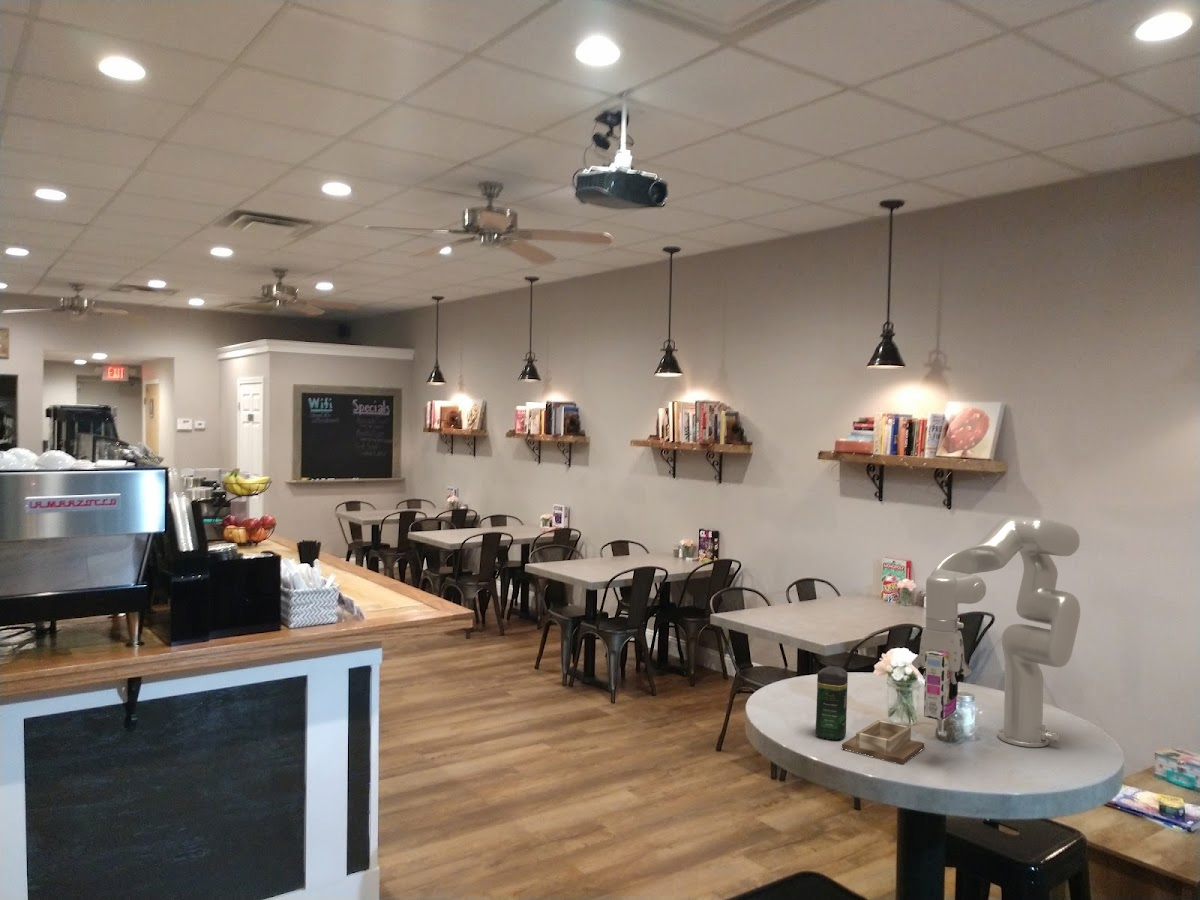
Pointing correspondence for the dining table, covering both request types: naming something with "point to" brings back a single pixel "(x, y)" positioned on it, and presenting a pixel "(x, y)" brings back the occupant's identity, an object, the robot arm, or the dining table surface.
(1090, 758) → the dining table surface
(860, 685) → the dining table surface
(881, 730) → the stand
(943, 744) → the dining table surface
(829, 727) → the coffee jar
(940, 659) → the candy bar box
